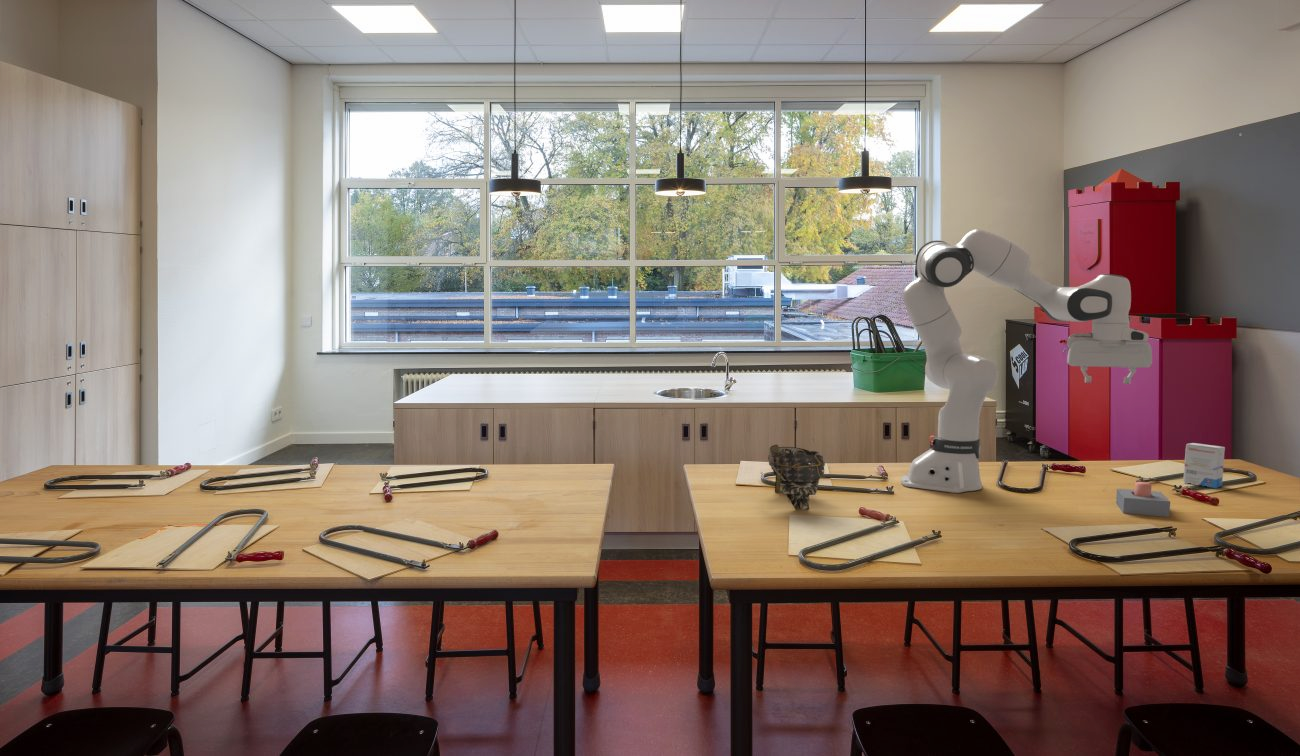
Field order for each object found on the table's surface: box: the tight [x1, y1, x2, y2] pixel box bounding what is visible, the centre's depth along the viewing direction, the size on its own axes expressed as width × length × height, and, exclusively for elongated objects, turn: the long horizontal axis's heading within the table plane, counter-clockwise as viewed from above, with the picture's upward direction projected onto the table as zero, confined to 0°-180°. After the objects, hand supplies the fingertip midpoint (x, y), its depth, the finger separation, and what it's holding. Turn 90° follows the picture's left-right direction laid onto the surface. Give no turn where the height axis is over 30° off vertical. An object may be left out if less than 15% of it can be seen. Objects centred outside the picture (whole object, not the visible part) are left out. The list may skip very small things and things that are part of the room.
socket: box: [1115, 488, 1171, 518], centre depth 199 cm, size 10×10×4 cm
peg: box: [1134, 481, 1153, 497], centre depth 199 cm, size 4×4×7 cm
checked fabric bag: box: [767, 444, 826, 511], centre depth 211 cm, size 22×15×15 cm
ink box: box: [1182, 442, 1226, 489], centre depth 224 cm, size 8×5×12 cm, turn 35°
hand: (1107, 383), depth 213 cm, fingers open, 8 cm apart
